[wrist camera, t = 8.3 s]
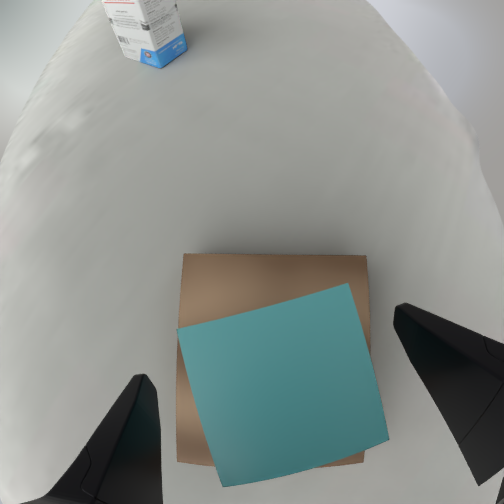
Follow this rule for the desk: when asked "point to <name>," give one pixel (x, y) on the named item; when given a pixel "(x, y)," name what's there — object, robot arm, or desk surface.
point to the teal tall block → (284, 387)
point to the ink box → (147, 29)
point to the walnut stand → (247, 299)
